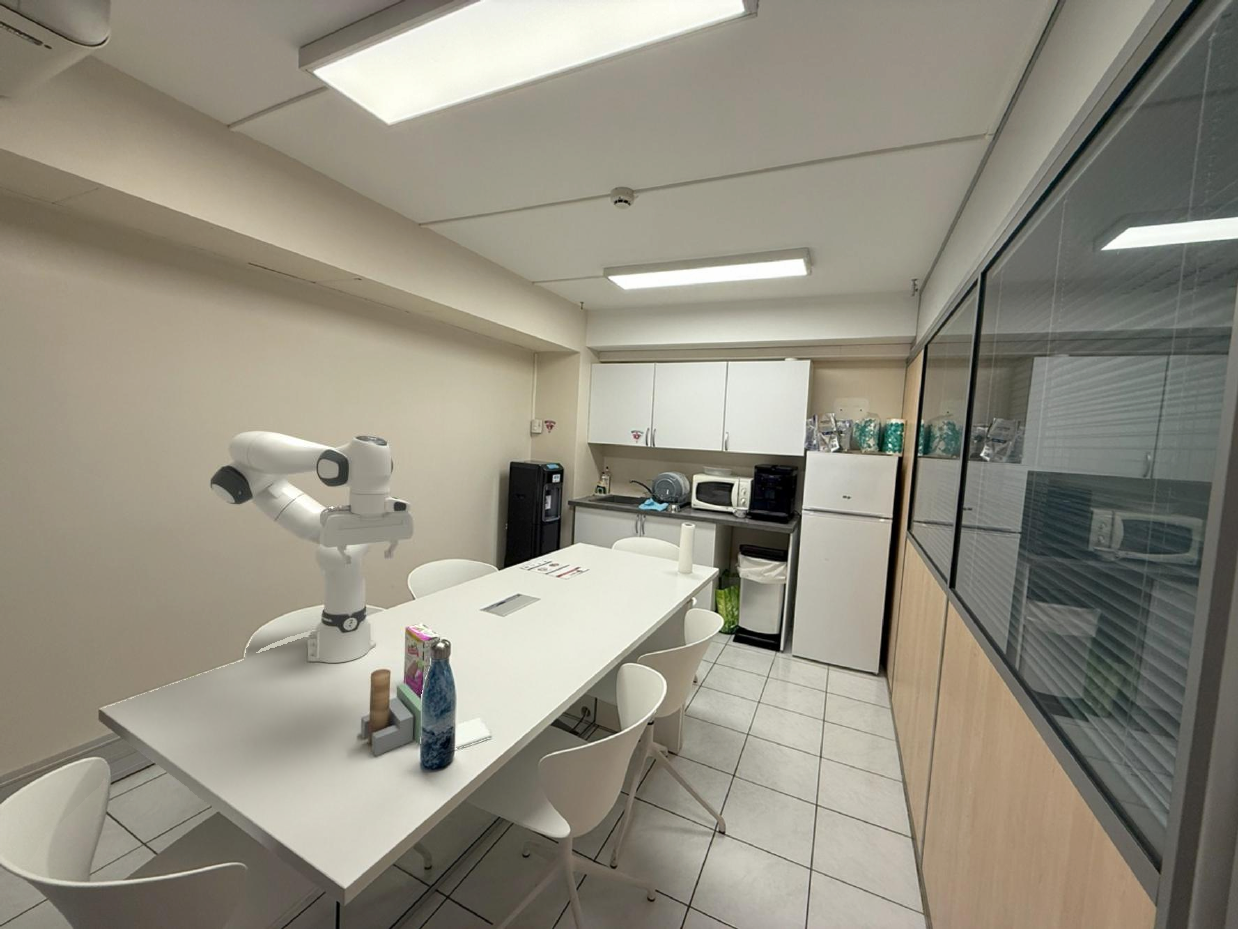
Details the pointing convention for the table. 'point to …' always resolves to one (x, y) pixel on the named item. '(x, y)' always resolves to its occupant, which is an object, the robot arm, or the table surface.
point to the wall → (411, 708)
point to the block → (391, 728)
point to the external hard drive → (471, 732)
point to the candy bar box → (417, 655)
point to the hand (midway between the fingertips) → (368, 560)
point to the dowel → (379, 701)
